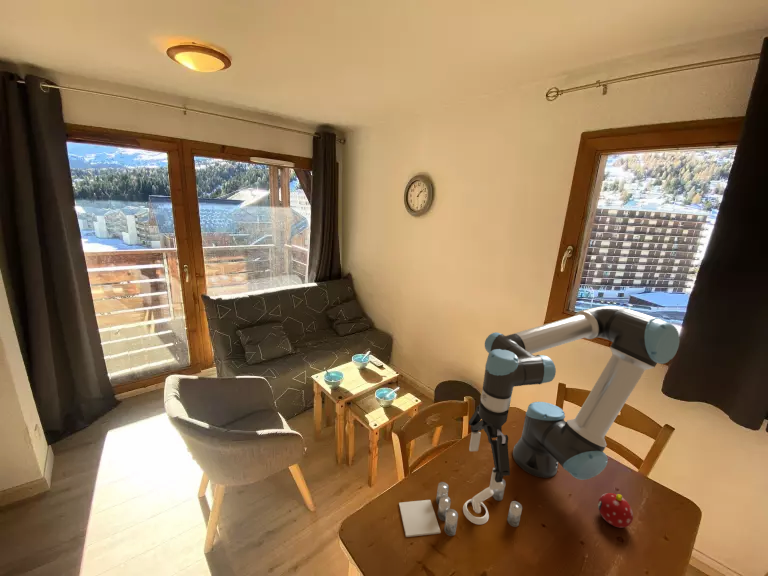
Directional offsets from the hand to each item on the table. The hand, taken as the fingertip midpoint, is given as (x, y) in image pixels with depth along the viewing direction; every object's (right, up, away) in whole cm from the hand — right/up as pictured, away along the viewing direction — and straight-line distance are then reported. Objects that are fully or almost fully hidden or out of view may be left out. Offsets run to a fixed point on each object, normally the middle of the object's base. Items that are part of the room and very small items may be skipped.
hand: (483, 468), depth 92 cm
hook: (-1, -16, +4) cm, 17 cm away
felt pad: (-19, -16, +1) cm, 24 cm away
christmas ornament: (+41, -19, +4) cm, 45 cm away
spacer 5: (+10, -17, +2) cm, 20 cm away
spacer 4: (+8, -15, +10) cm, 20 cm away
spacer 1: (-11, -15, +7) cm, 19 cm away
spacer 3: (-10, -17, -2) cm, 20 cm away
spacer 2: (-11, -16, +3) cm, 20 cm away
